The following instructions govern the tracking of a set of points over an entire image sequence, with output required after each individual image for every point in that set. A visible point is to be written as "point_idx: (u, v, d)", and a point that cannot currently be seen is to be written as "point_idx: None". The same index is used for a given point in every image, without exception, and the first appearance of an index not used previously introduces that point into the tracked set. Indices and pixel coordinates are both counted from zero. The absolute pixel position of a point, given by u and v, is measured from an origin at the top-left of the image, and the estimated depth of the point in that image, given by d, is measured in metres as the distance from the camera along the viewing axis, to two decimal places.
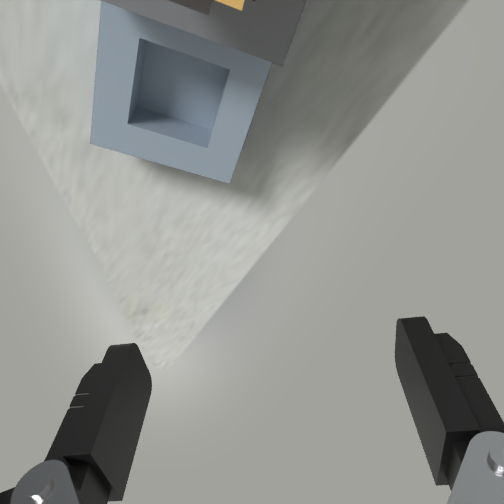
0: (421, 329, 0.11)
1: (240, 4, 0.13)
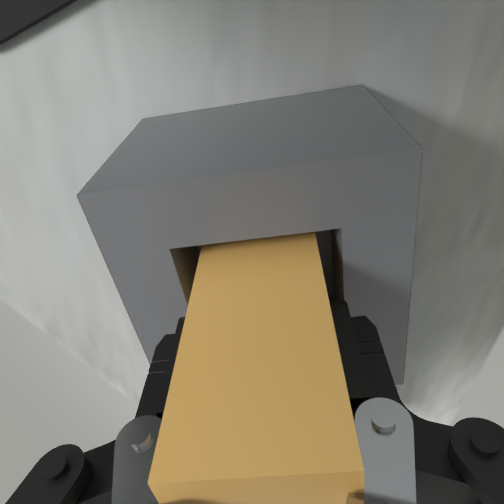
0: (340, 312, 0.12)
1: None
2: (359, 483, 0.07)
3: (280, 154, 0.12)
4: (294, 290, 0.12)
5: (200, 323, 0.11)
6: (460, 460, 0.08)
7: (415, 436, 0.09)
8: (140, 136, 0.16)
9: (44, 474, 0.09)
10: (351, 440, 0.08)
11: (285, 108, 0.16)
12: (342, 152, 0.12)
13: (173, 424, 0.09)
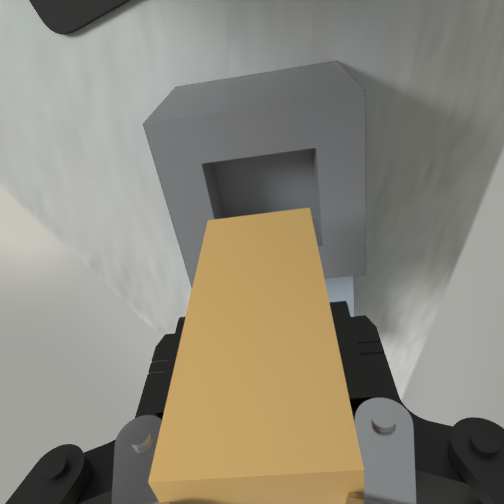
0: (340, 312, 0.12)
1: None
2: (359, 482, 0.07)
3: (275, 98, 0.19)
4: (294, 290, 0.12)
5: (200, 323, 0.11)
6: (460, 460, 0.08)
7: (415, 436, 0.09)
8: (176, 95, 0.23)
9: (44, 474, 0.09)
10: (351, 439, 0.08)
11: (281, 76, 0.23)
12: (315, 95, 0.18)
13: (174, 423, 0.09)
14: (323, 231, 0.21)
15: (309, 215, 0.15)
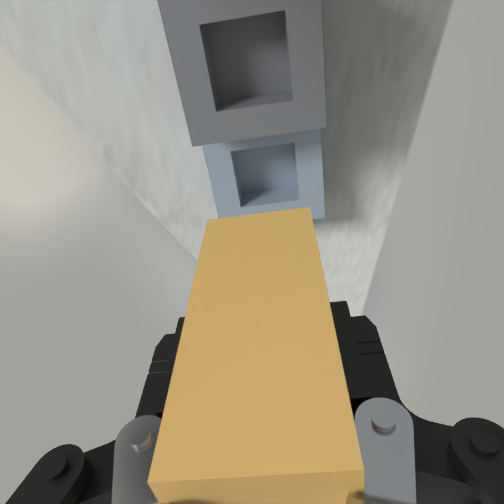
0: (340, 312, 0.12)
1: None
2: (359, 482, 0.07)
3: None
4: (294, 290, 0.12)
5: (200, 322, 0.11)
6: (460, 460, 0.08)
7: (415, 436, 0.09)
8: None
9: (44, 474, 0.09)
10: (351, 439, 0.08)
11: None
12: None
13: (174, 423, 0.09)
14: (293, 86, 0.28)
15: (309, 214, 0.15)
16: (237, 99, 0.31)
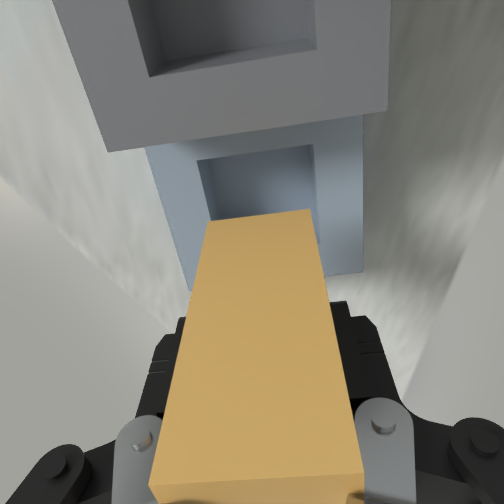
0: (340, 312, 0.12)
1: None
2: (359, 485, 0.07)
3: None
4: (294, 292, 0.12)
5: (200, 324, 0.11)
6: (460, 460, 0.08)
7: (415, 436, 0.09)
8: None
9: (44, 474, 0.09)
10: (351, 442, 0.08)
11: None
12: None
13: (174, 425, 0.09)
14: (317, 16, 0.12)
15: (309, 216, 0.15)
16: (201, 57, 0.15)
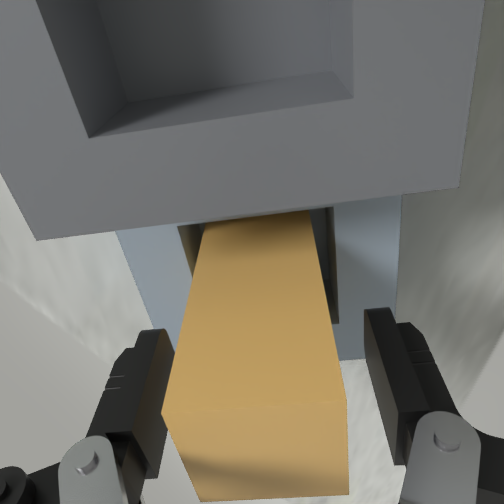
0: (384, 318, 0.11)
1: (345, 492, 0.11)
2: (342, 412, 0.09)
3: None
4: (289, 261, 0.13)
5: (204, 289, 0.12)
6: None
7: (480, 453, 0.08)
8: None
9: None
10: (336, 377, 0.09)
11: None
12: None
13: (183, 368, 0.10)
14: (357, 46, 0.07)
15: None
16: (176, 98, 0.10)
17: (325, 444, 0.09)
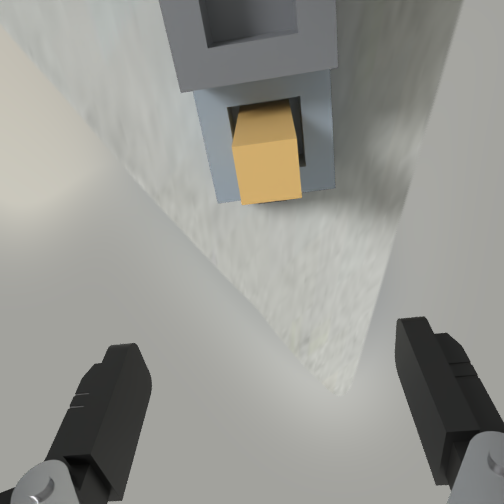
0: (421, 329, 0.11)
1: (300, 195, 0.27)
2: (295, 145, 0.25)
3: None
4: (279, 116, 0.29)
5: (242, 126, 0.28)
6: None
7: None
8: None
9: None
10: (294, 135, 0.25)
11: None
12: None
13: (237, 140, 0.26)
14: (298, 15, 0.23)
15: (288, 100, 0.32)
16: (233, 39, 0.26)
17: (290, 164, 0.25)
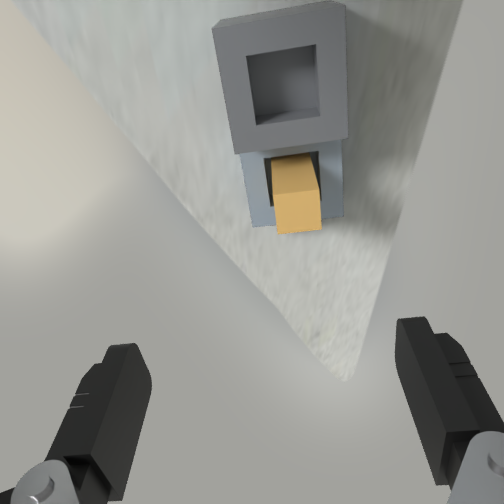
0: (421, 329, 0.11)
1: (320, 228, 0.37)
2: (318, 193, 0.35)
3: (291, 13, 0.31)
4: (303, 167, 0.39)
5: (276, 175, 0.38)
6: None
7: None
8: (225, 21, 0.35)
9: None
10: (317, 186, 0.35)
11: (293, 8, 0.35)
12: (316, 9, 0.30)
13: (275, 188, 0.36)
14: (320, 104, 0.34)
15: None
16: (272, 114, 0.37)
17: (314, 206, 0.36)
